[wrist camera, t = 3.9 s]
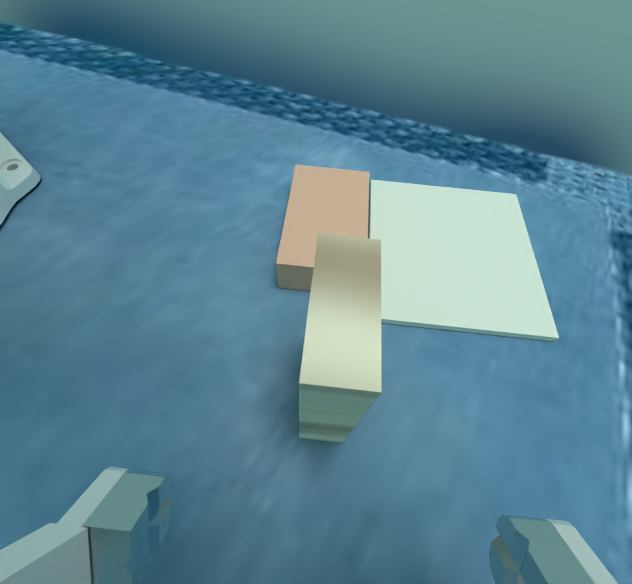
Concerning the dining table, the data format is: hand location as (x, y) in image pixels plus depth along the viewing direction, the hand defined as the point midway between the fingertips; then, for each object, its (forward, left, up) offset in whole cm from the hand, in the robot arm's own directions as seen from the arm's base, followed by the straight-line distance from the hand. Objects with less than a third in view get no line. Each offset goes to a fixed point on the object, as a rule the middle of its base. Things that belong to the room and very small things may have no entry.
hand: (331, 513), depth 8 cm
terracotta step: (-14, +11, -11) cm, 21 cm away
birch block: (-5, +4, -11) cm, 13 cm away
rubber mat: (-8, +19, -11) cm, 23 cm away
